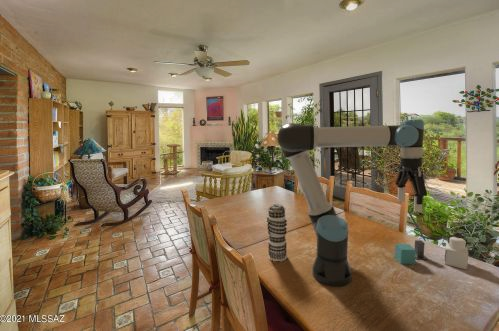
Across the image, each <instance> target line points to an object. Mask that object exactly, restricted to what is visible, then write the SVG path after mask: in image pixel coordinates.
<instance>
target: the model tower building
mask: <svg viewBox="0 0 499 331" xmlns="http://www.w3.org/2000/svg"><path fill="white" fill-rule="evenodd" d="M267 210H268V216H267V217H266V222H267V234H268V243H267V244H268V259H269V258H270V259H271V261H272V260H273V261H272V262H276V261H280V262H284V261H286V259H287V253H288V252H287V251H288V250H287V245H288V244H287V242H286V241H287V240H286V235H287V229H288V228H287V226H288V225H287V224H288V223H287V222H288V221H287V219H286V208H285V207H284V206H283V205H282V204H271V205H270V206H269V207H268V208H267ZM270 259H269V260H270Z"/></svg>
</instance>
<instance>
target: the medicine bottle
mask: <svg viewBox="0 0 499 331" xmlns="http://www.w3.org/2000/svg"><path fill="white" fill-rule="evenodd" d="M447 239H448V240H447V242H446V244H445V252H444V265H447V266H451V267H455V268H459V269H461V270H468V261H469V249H468V246H467V245H468V239H466V238H465V237H463V236H461V235H455V234H451V235H449V236H448V238H447Z"/></svg>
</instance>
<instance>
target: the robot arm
mask: <svg viewBox="0 0 499 331" xmlns="http://www.w3.org/2000/svg"><path fill="white" fill-rule="evenodd" d="M424 132H425V123H424V120H423V119H420V118H419V119H417V118H416V119H404V120H402V122H401V124H399V125H397V124H395V125H394V124H393V125H369V126H368V125H364V126H363V125H362V126H361V125H360V126H357V125H356V126H324V127H317V126H315V125H314V124H300V123H295V122H294V123H286V124H285V125H283V126H281V127H280V129H278V132H277V138H276V139H277V143H278V146H279V147H280V150H281V151H282V153H283V156H284V158H285V159H286V160H289V162H290V165H291V167H292V169H293V172H294V174H295V176H296V179H297V182H298V184H299V186H300V188H301V192H302V194H303V196H304V199H305V201H306V203H307V206H308V211H307V216H308V218H309V221H310V222H311V225H312V227H313V230H314V233H315V238H316V257H315V259H314V262H313V265H312V270H311V272H312V276H313V278H315V280H316V281H318V282H320V283H321V284H323V285H327V286H331V287H343V286H344V287H345V286H347V285H348V284H350V283H351V282H352V269H351V267H350V263H349V260H348V247H349V246H348V244H349V224H348V223H347V221H346V219H344V218H342V217H340V216H338V215H337V213H336V210H335V207H334V205H333V203H331V202H329V201H328V200H327V197H326V195H325V192H324V189H323V187H322V183H321V182H320V180H319V176H318V174H317V172H316V169H315V167H314V165H313V164H314V163H313V161H312V160H311V157H310V154H309V152H310V151H314V150H316V148H351V147H353V148H355V147H400V157H401V158H400V164H399V165H400V166H399V167H398V168H399V170H398V174H397V177H396V180H395V185H396V187H397V202H398V203H405V200H406V184H407V183H408V181H409V182H411V184H412V188H413V191H414V194H413V195H414V198H413V199H414V200H413V212H414V213H422V212H423V203H424V202H423V197H427V196H428V192H427V188H426V184H425V179H424V171H423V170H419V168H421V167H422V166H423V158H422V157H423V151H424V148H423V146H424V145H423V144H424Z"/></svg>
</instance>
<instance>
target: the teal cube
mask: <svg viewBox="0 0 499 331" xmlns="http://www.w3.org/2000/svg"><path fill="white" fill-rule="evenodd" d="M394 246H395V247H394V259H396V260H397V262H398V263H399V264H401V265H415V264H416V259H415V252H416V250H415V247H413V246H412V245H411V244H409V243H395V245H394Z"/></svg>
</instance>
